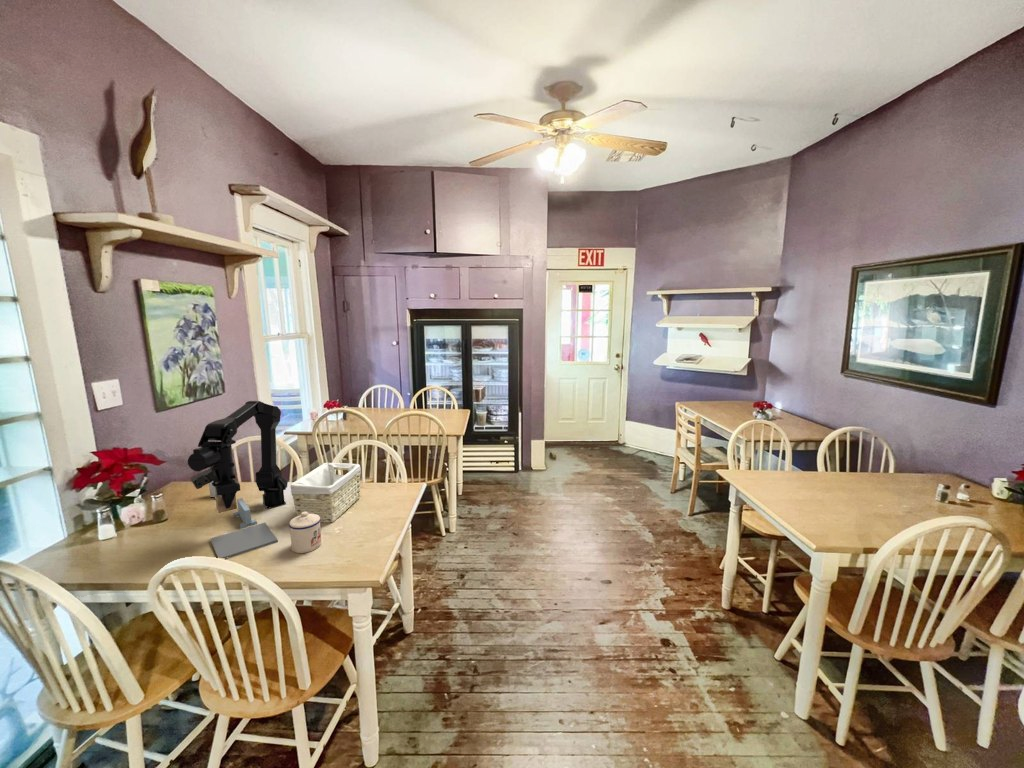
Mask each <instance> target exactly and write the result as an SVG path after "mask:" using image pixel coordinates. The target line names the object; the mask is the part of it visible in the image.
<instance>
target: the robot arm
mask: <svg viewBox="0 0 1024 768" xmlns="http://www.w3.org/2000/svg"><path fill="white" fill-rule="evenodd" d="M281 416H282V411H281V409H280V408H279V407H278V406H277V405H271V404H267V403H265V402H263V401H261V400H248V401H246V402H245V404H243V405H242V406H241V407H239V408H238V409H236V410H235V411H234V412H232V413H230V414H229V415H228V416H226V417H225V418H221V419H216V420H214V421H212V422H208V423H207V424H206V426H205V427H204V430H203V432H202V435H201V437H200V439H199V442H198V445H197V448H194V449H192V451H193V453H192V454H190V455H189V457H188V460H187V465H188V466H189V467H188V468H190V469H191V470H192V471H194V472H198V473H197V474H195V475H193V476H192V477H190V482H191V483H192V484H193V486H194V487H195V489H196V490H199V489H202V488H203V487H204V486H207V485H209V483H210V482H212V481H213V482H212V485H213V486H214V487H215V492H216V494H217V495H221V496H222V498H223V501H224V504H225V507H226V509H227V508H230V507H231V504H232V502H233V499H234V497H235V495H236V494H237V492H239V491H241V485H240V482H239V481H238V480H236V474H235V468H234V467H235V462H234V458H233V456H234V455H233V448H232V446H233V445H234V444H236V443H237V441H236V440H235V439H233V438H234V437H235V436H236V435H237V433H238V428H240V427H241V426H242V425H244V424H245V423H246V422H247V421H249V420H250V419H251V418H253V417H254V419H255V424H256V426H258V428H259V429H260V453H261V455H260V457H261V459H260V460H261V467H260V468H259V470H258V471H257V472H255V484H256V486H257V489H258V491H259V492H263V494H262V504H263V506H265V507H266V509H271V508H272V509H273V508H275V507H280V506H283V505H286V503H287V502H286V500H285V495H284V494H285V493H284V492H285V490H287V489H286V488H288V480H287V479H285V478H284V477H283V475H282V470H281V469H280V467H279V466H278V464H277V439H276V437H277V436H276V435H277V434H276V433H277V431H276V428H277V426H278V425H279V424H280V422H281ZM236 496H237V495H236Z"/></svg>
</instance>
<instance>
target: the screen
mask: <svg viewBox="0 0 1024 768" xmlns="http://www.w3.org/2000/svg"><path fill="white" fill-rule="evenodd" d="M236 504H237V509H238V511H236V512H233V513H232V516H233V517H234V518H238V517H239V518H240V519H241V520H242V522H241V523H239V525H238V526H239V528H240V529H244V528H248V527H251V526H254V525H258V521H257V520H256V519H252V516H251V509H250V507H249V506H248V505H247V503H246V502H245V500H244V499H243V497H241V498H236Z"/></svg>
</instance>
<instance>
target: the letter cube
mask: <svg viewBox="0 0 1024 768" xmlns="http://www.w3.org/2000/svg"><path fill="white" fill-rule="evenodd" d="M236 496H237V495H235V497H234V499H233V502H232V504H231V507H230V508H227V509H226V507H225V504H224V501H223V498H222V496H221V495H217V494H215V497H216V498H215V505H216V510H217V512H218V514H221V513H226V512H230V511H234V510H237V509H238V503H237V497H236Z"/></svg>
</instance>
